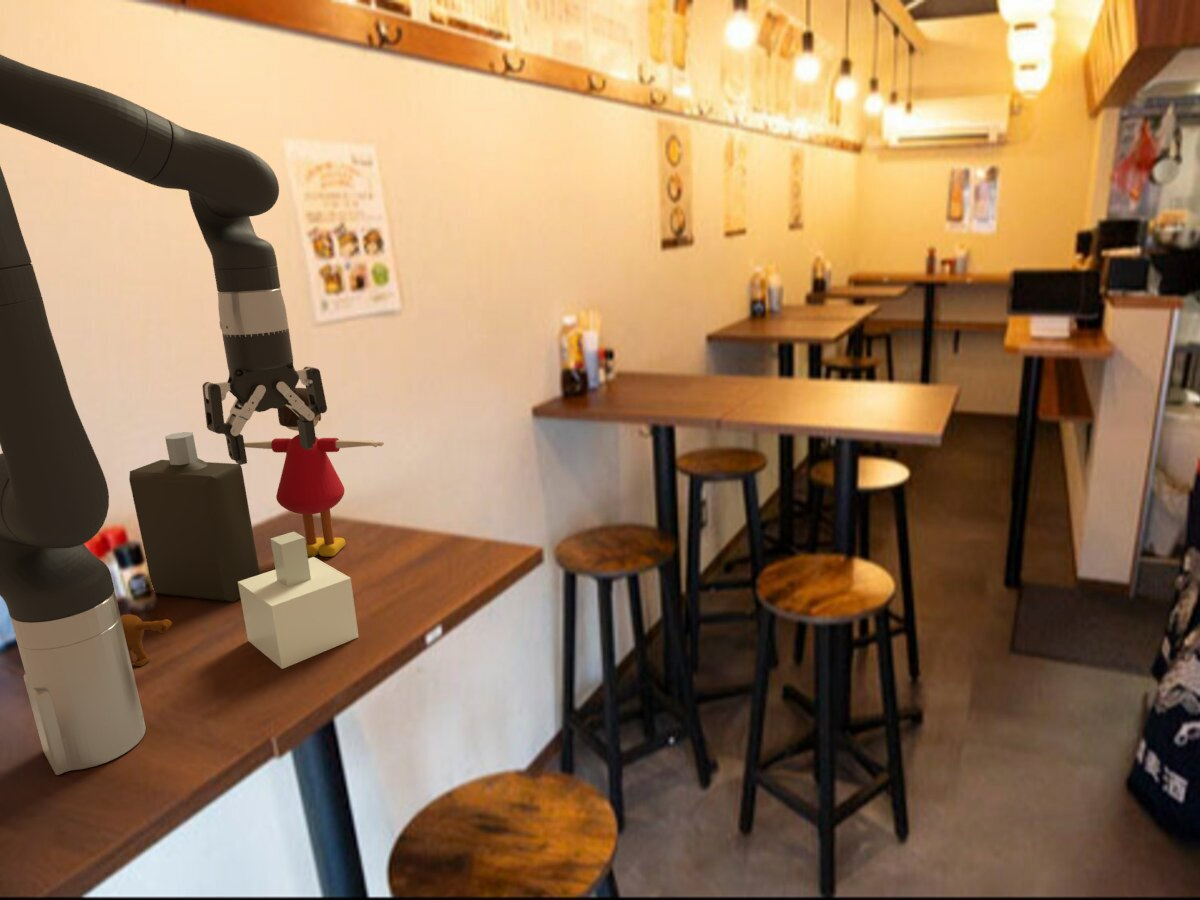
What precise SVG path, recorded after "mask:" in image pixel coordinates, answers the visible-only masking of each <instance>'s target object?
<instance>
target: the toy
mask: <svg viewBox="0 0 1200 900" xmlns="http://www.w3.org/2000/svg"><path fill="white" fill-rule="evenodd" d="M293 392H294V393H295V394H296V395H297V396H298V397H299V398H300V399H301V400H302V401H303V402H304V403H305V405H306V406H307V407H308V406H309V400H308V395H307V390H306V387H295V389H294V391H293ZM283 407H284V408H279V409H277V417H278V422H279V426H283V427H285V428H287V429H289V430H292V431H298V424H297V420H300V419H299V417H298V416H297V415H296V414H295V413H294V412H293V411H292V410H291V409H290V408H288V407H287V406H286V405H284V406H283ZM321 420H322V413H321V414H319V415H317V416H316V417H315V418H314V428H315V427H316V426H317V425H318V424H319V422H321ZM298 432H299V431H298ZM384 444H385V443H384V442H383V441H374V440H350V439H349V440H348V439H347V440H343V439H339V438H337V437H317V436H316V442H315V444H313V449H309V450H306V449H303V448H302V447H301V444H300V438H299V433H298V434H297V435H295V436H293V437H292V438H289V437H288V438H283V437H281V438H273V439H272V440H263V441H262V440H261V441H244V445H245V448H249V449H250V448H252V449H261V450H262V449H263V450H264V449H265V450H266V449H267V450H272V452H273V453H277V454H278V453H286V454H285V458H284V464H283V467H282V471H281V476H280V479H279V483H278V488H277V491H276V496H275V498H276V501H277V503H278V504H279V505H280V506H281V507H282V508H284V509H285V510H287V511H289V512H291V513H294V514H299V515H302V522H303V527H304V534H305V543H306V549H307V556H308V558H311V557H317V555H319V556H321V557H325V558H326V557H334V556H336V555H337V554H339V552H340V551H341V550H342V549H343V548H344V547H345V546H346V540H345V539H344V538H343V537H335V536H334V529H333V522H332V515H331V509H332V508H334V507H335V506H337V505H338V503H339V502H340V501H342V499H343V498H344V496H345V486H344V484H343V483H342V481H341V479H340V477H339V475H338V473H337V471H336V469H335V467H334V465H333V464H332V461H331V459H330V458H329V456H328V453H338V452H339V451H340V450H341V449H344V448H345V449H347V448H348V449H349V448H357V447H370V446H371V447H374V448H377V447H382V446H383V445H384ZM317 514H319V515H320V522H321V527H322V533H323V535H322V536H323V537H317V536H316V535H317V534H316V528H315V523H314V517H313V515H317Z"/></svg>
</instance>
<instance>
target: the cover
mask: <svg viewBox="0 0 1200 900" xmlns="http://www.w3.org/2000/svg"><path fill="white" fill-rule="evenodd" d="M306 543H307V542H306V536H303V535H301V534H300V533H298V532H296V531H292V532H291V531H290V532H287V533H285V534H281V535H277V536H275V537H271V538H270V545H271V549H272V556H273V557H272V558H273V564H274V568H275V569H272V570H269V571H266V572H263V573H260V575H257V576H254V577H251V578H248V579H245V580H242V581H239V582H238V586H239V592H240V597H241V598H240V603H241V606H242V607H241V609H242V613H243V619H244V624H245V625H244V626H245V629H246V630H245V631H246V637H247V641H248V642H249V643H250V644H252V646H253V647H255V648H256V649H257V650H258V651H260V652H261V653H262V654H263V655H265V657H267V658H268V659H269V660H271V661H272V663H274V664H275V665H277V666H278V667H279V668H280V669H282V670H283V669H286V668H288V667H291V666H292V665H296V664H297V663H301V662H302V661H305V660H307V659H309V658H313V657H314V656H317V655H319V654H321V653H324V652H326V651H329V650H332V649H333V648H336V647H338V646H341V645H343V644H346V643H348V642H351V641H353V640H355V639H357V638H358V639H359V631H358V623H357V622H358V621H357V614H356V606H355V600H354V591H353V584H352V578H351V577H350V576H349V575H346V574H345V573H344V572H341V571H340V570H338V569H336V568H334V567H332V566H330V565H329V564H327V563H325V562H323V561H322V560H320V559H318V558H317V557H316V556H311V557H309V556H307V549H306Z"/></svg>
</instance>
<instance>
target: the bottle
mask: <svg viewBox="0 0 1200 900" xmlns="http://www.w3.org/2000/svg"><path fill="white" fill-rule="evenodd" d="M164 438H165V444H166V448H167V449H166V450H167V455H168V459H160V460H156V461H154V462H151V463H149V464H146V465H142V466H140V467H138V468H135V469H133V470H130V471H129V479H128V480H129V485H130V490H131V494H132V495H131V496H132V499H133V504H134V509H135V513H136V518H137V522H138V527H139V532H140V537H141V542H142V547H143V551H144V555H145V561H146V566H147V570H148V574H149V579H151V580H150V583H151V582H152V585H153V588H154V591H155V592H156V593H155V592H154V591H153V592H154V593H155V594H157V593H159V595H166V594H167V595H168V596H174V597H184V598H195V599H204V600H212V601H221V602H231V603H235V602H237V601H238V600H239V599H240V600H241V597H240V592H239V586H238V582H239V581H242V580H245V579H248V578H251V577H254V576H257V575H260V574H261V573H260V567H259V560H258V555H257V554H258V553H257V548H256V544H255V542H256V541H255V538H254V532H253V531H254V530H253V526H252V520H251V514H250V508H249V502H248V497H247V496H248V495H247V490H246V489H247V488H246V483H245V479H244V473H243V468H242V465H240V464H238V463H231V462H230V463H229V462H228V463H226V462H209V461H208V462H207V461H205V460H203V459H200V458H199V457H198V453H197V447H196V443H195V437H194V432H191V431H190V432H189V431H188V432H186V431H185V432H184V431H183V432H182V431H181V432H176V433H171V434H167V435H165V436H164ZM152 585H151V586H152Z"/></svg>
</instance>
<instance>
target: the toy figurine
mask: <svg viewBox="0 0 1200 900" xmlns="http://www.w3.org/2000/svg"><path fill="white" fill-rule="evenodd" d="M120 617H121V621H122V625H123V630H124V634H125V638H126V643H127V647H128V652H129V656H130V660H131V664H133V663H134V666H135V667H137V666H140V667H143V666H145V665H147V664H148V663H149V662H150V660H151V659H150V657H149V656H148V654H147V652H146V651H144V646H143V641H142V639H143V637H144V633H145V630H146V631H147V630H151V631H155V632H157V631H158V633H161V634H166V633H167V630H168V629H169V628H170V627H171V626H172V625H173V621H171V620H169V619H166V618H164V619H163V620H153V621H150V620H149V621H148V620H146V621H143V620H142V618H140V617H139V616H138V615H135V614H130V613H127V614H122V615H120ZM131 650H132V651H131ZM133 653H134V654H135V655H136V658H137V659H136V658H135V656H134V654H133ZM135 659H136V660H135ZM146 663H147V664H146Z"/></svg>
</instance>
